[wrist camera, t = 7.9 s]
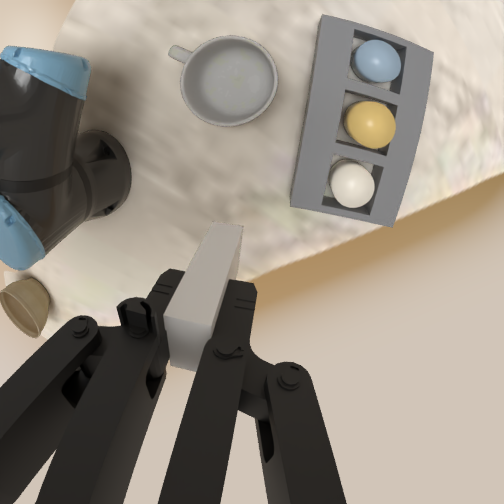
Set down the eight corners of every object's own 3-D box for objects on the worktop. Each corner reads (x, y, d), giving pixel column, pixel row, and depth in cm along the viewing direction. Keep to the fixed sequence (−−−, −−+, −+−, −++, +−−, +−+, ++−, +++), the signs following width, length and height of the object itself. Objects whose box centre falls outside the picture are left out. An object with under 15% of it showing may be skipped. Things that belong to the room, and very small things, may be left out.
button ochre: (339, 137, 32) (346, 141, 28) (347, 96, 29) (355, 95, 25) (379, 147, 32) (389, 153, 28) (388, 108, 29) (399, 110, 25)
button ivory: (324, 192, 38) (328, 203, 34) (333, 155, 35) (338, 161, 32) (361, 200, 38) (367, 211, 34) (370, 164, 35) (379, 172, 31)
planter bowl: (55, 321, 66) (36, 346, 57) (19, 287, 61) (-1, 309, 52) (63, 296, 59) (41, 324, 49) (23, 256, 54) (-2, 280, 45)
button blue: (347, 76, 29) (354, 74, 26) (353, 40, 26) (360, 34, 23) (386, 88, 29) (397, 87, 25) (392, 52, 26) (403, 48, 22)
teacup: (296, 84, 31) (299, 80, 24) (238, 136, 36) (227, 146, 29) (222, 20, 27) (206, 3, 20) (168, 75, 32) (142, 72, 25)
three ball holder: (289, 196, 39) (290, 206, 36) (318, 22, 26) (322, 14, 22) (384, 216, 39) (392, 227, 36) (421, 55, 25) (433, 52, 22)
